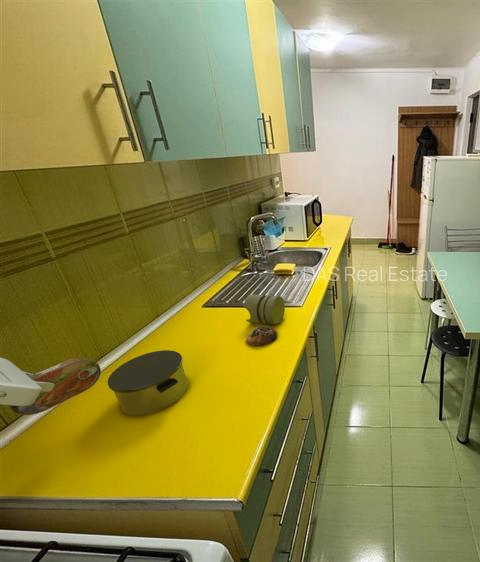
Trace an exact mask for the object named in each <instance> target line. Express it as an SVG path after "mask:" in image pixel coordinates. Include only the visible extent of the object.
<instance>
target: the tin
mask: <svg viewBox="0 0 480 562" xmlns="http://www.w3.org/2000/svg"><path fill="white" fill-rule="evenodd" d="M101 369H102V368H101V366H100V364H98V363H97V362H96V361H94V360H92V359H90V358H87V357H74V358H70V359H68V360H67V359H66V360H65V361H63V362H62V361H61V362H60V363H57V364H55V365H53V366H51V367H48V368H46V369H43V370H41V371H38V372H36V373H32V374H33V375H31V376H29V377H30V378H31V379H32V380H33V381H36V382H42V381H49V382H52V383H53V384H54V387H53V389H52V390H51V391H49V392H43V391H41V392H40V394H39V395H38V397H37V398H36V400H35V401H34V402H33V404H31V405H28V406H14V405H8V406H9V408H10V410H11V411H12V412H13V413H15V414H17V415H21V416H32V415H33V416H34V415H38V414H41V413H43V412H45V411H48V410H50V409H51V408H54V407H55V406H58V405H59V404H62V403H63V402H66V401H68V400H69V399H72V398H74V397H76V396H78V395H80V394H82V393H84V392H87V391H88V390H89V389H91V388H92V387H94V385H96V384H97V382H98V380H99V379H100V376H101V373H102V370H101Z"/></svg>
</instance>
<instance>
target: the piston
mask: <svg viewBox="0 0 480 562" xmlns="http://www.w3.org/2000/svg"><path fill="white" fill-rule="evenodd" d="M285 304H286V303H285V300H284V298H283V296H281V295H265V294H249V295H248V296H247V297H246V298H245V300H244V303H243V306H242V308H244V309H246V310H247V311H248V313H249V318H248V319H246V320H245V321H246V322H247V323H255V324H268V325H279V324H280V323H282V321H283V319H284V316H285V313H286V312H285V311H286V305H285Z"/></svg>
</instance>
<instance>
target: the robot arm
mask: <svg viewBox="0 0 480 562" xmlns="http://www.w3.org/2000/svg"><path fill="white" fill-rule="evenodd" d="M33 374H34V373H30V372H27V371H23V370H21V369H20V368H19V367H18V366H17V365H15V364H14V363H13V362H12V361H10V360H9V359H6V358H3V357H0V405H2V406H3V405H4V406H9V405H14V406H28V405H31V404H33V402H34V401H35V400H36V398H37V397H38V395H39V394H40V392H41V391H43V392H49V391H51V390H52V389H53V387H54V384H53V383H52V382H49V381H42V382H36V381H33V380H32V379H31V378H30V377H29V376H31V375H33Z"/></svg>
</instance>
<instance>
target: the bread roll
mask: <svg viewBox="0 0 480 562" xmlns="http://www.w3.org/2000/svg"><path fill="white" fill-rule="evenodd" d="M277 336H278V332H277V330H276V329H275V328H274V327H272V326H269V325H262V326H261V325H260V326H257V327H254V329H253V330H251V331H250V332H249V333H247V335H246V337H245V342H246V343H248V344H249V345H251V346H255V347H257V346H263V345H267V344H270V343H273V342H275V341H276V340H277Z"/></svg>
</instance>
